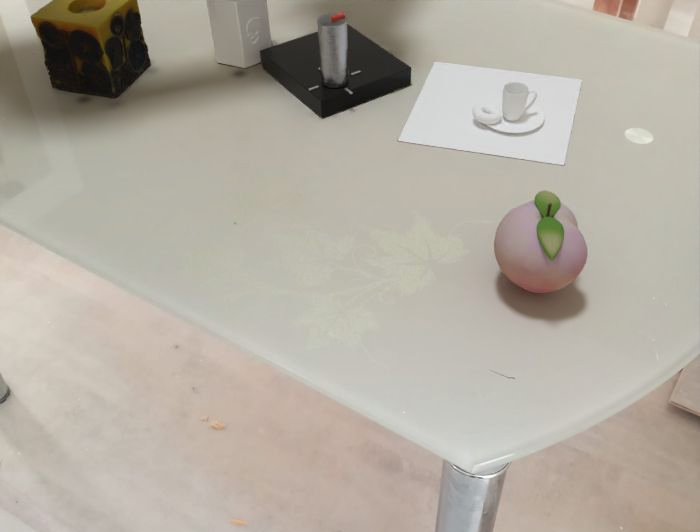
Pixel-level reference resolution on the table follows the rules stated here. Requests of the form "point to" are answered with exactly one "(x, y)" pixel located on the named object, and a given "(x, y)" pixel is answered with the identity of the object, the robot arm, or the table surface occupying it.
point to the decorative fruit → (540, 245)
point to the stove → (364, 72)
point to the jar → (239, 30)
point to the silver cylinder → (333, 49)
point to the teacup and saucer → (494, 112)
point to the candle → (92, 44)
